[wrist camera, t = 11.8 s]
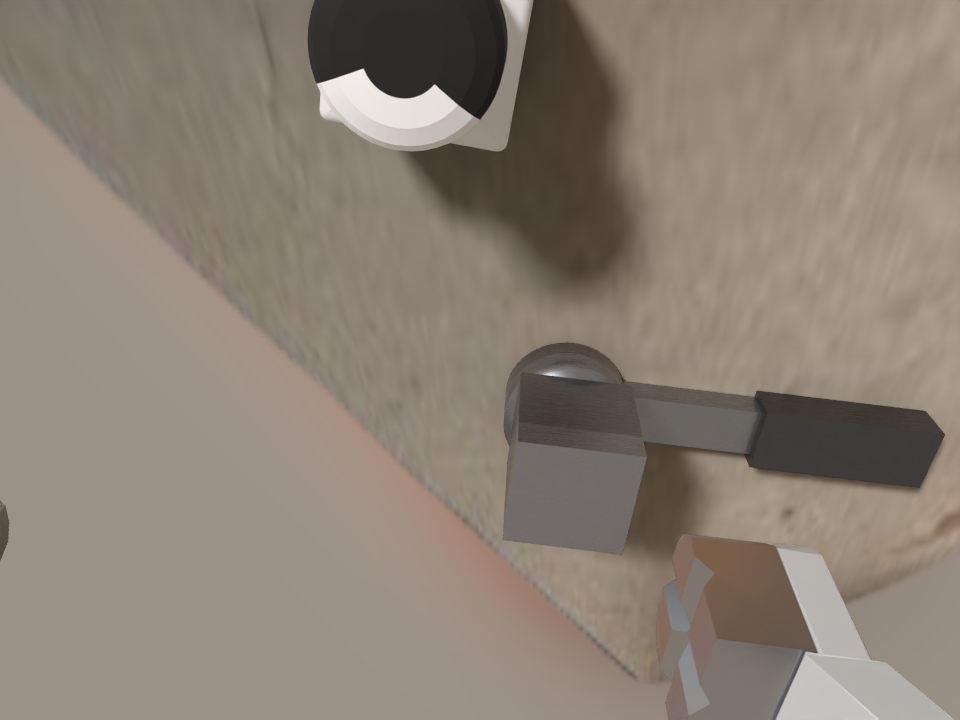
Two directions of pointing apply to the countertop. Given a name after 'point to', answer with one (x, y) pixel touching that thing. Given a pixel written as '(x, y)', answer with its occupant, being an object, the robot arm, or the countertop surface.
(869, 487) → the countertop surface
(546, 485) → the grey metal cube
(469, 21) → the medicine bottle
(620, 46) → the countertop surface
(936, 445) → the ratchet
